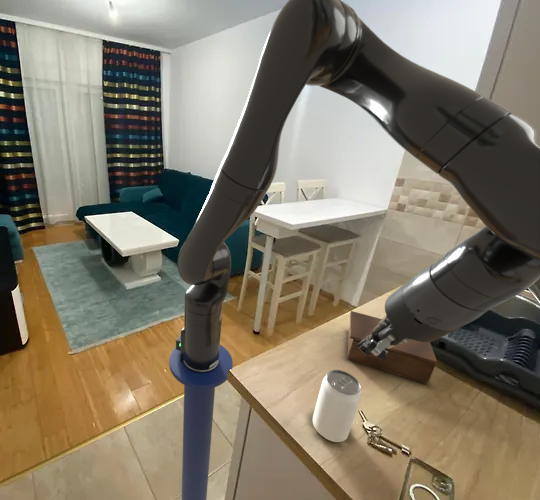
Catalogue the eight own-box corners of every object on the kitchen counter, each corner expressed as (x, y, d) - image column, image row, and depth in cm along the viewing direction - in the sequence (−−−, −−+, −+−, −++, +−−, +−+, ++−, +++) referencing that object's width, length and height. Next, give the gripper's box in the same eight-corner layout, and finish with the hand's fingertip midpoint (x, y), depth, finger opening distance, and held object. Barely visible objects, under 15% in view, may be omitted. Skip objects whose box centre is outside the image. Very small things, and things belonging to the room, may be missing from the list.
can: (304, 421, 58) (316, 375, 53) (325, 407, 61) (338, 363, 56) (334, 450, 52) (349, 402, 48) (355, 433, 56) (371, 387, 51)
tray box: (347, 359, 74) (352, 340, 72) (348, 331, 84) (353, 314, 82) (427, 384, 67) (435, 364, 65) (417, 351, 77) (424, 333, 75)
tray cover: (349, 338, 72) (350, 335, 72) (350, 313, 82) (351, 310, 82) (436, 364, 65) (437, 361, 64) (424, 333, 75) (425, 330, 75)
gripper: (426, 259, 42) (363, 312, 56) (382, 309, 36) (324, 355, 50) (482, 295, 39) (400, 342, 52) (443, 356, 33) (363, 391, 47)
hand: (363, 348), depth 51 cm, fingers closed
